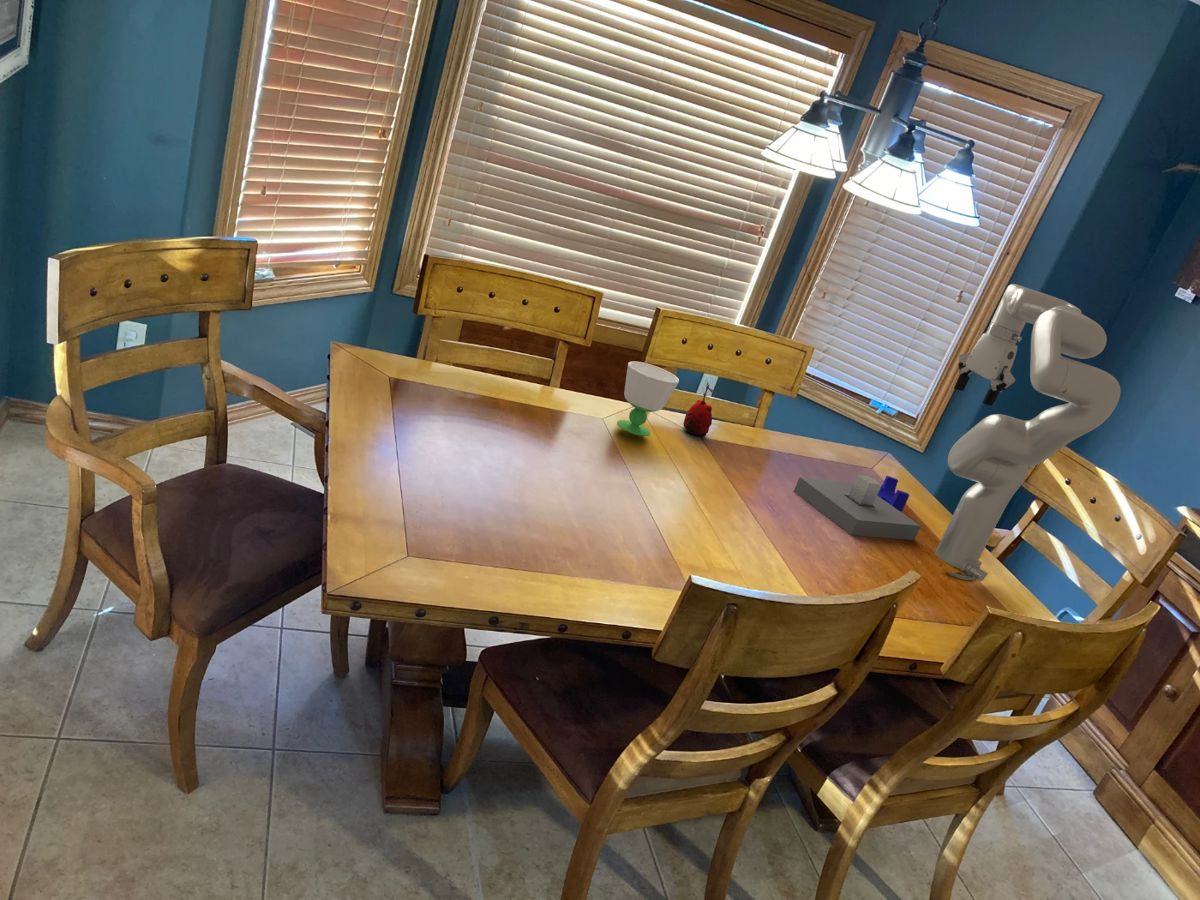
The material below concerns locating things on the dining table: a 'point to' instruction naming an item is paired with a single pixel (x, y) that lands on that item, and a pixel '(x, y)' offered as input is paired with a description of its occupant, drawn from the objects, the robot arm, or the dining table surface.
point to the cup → (646, 394)
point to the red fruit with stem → (699, 417)
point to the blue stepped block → (893, 493)
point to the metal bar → (864, 491)
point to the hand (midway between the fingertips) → (972, 397)
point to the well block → (856, 510)
